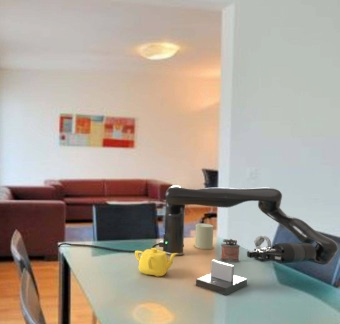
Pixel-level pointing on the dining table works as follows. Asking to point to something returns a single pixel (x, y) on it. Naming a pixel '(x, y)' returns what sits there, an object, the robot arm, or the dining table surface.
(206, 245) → the can
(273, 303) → the dining table surface
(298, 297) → the dining table surface
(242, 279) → the hob panel
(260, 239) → the watch
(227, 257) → the lighter
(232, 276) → the knob
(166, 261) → the teapot
